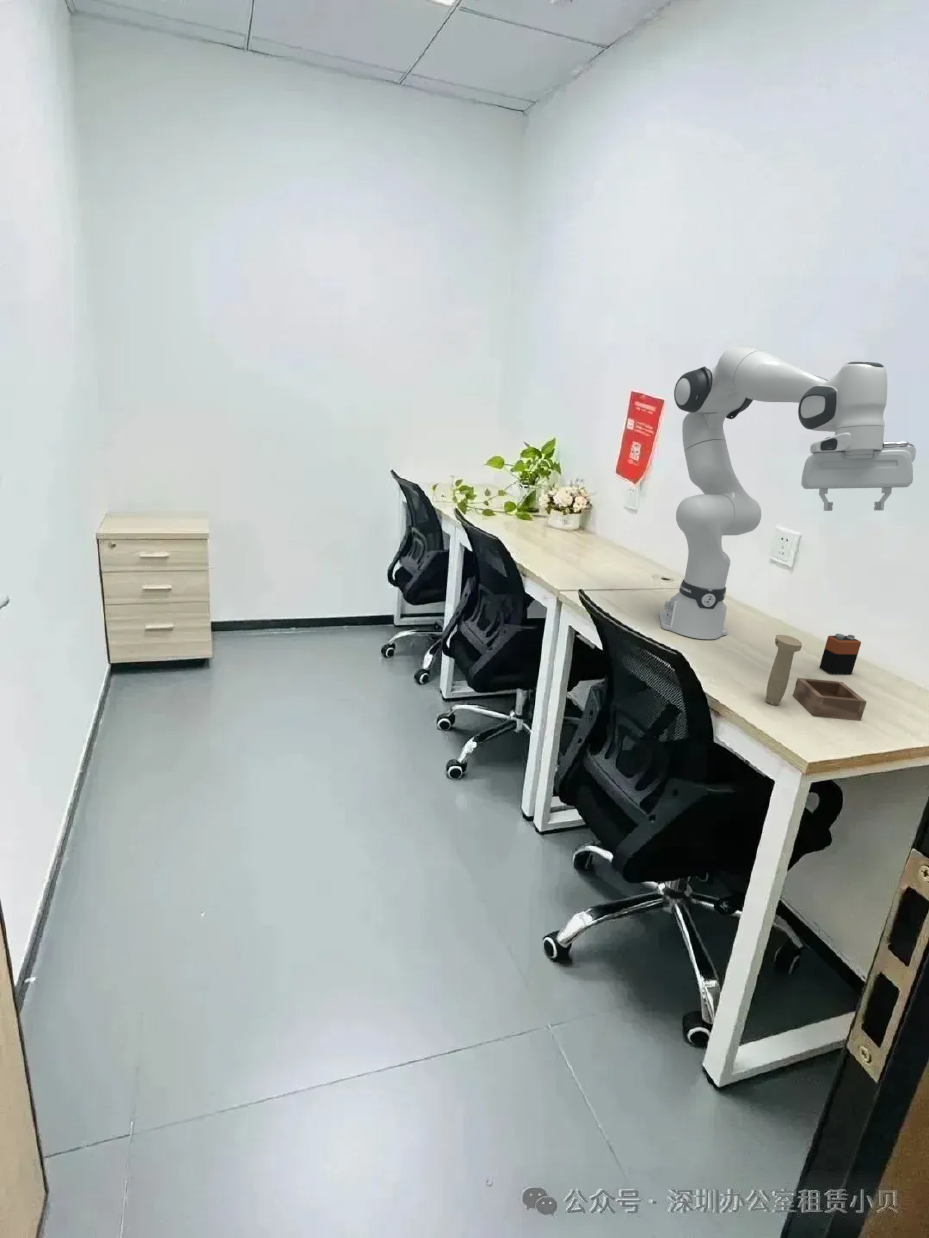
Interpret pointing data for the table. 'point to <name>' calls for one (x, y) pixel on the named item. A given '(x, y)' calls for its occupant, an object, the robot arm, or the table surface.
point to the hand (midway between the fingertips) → (853, 510)
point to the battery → (840, 654)
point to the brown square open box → (829, 699)
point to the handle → (781, 668)
